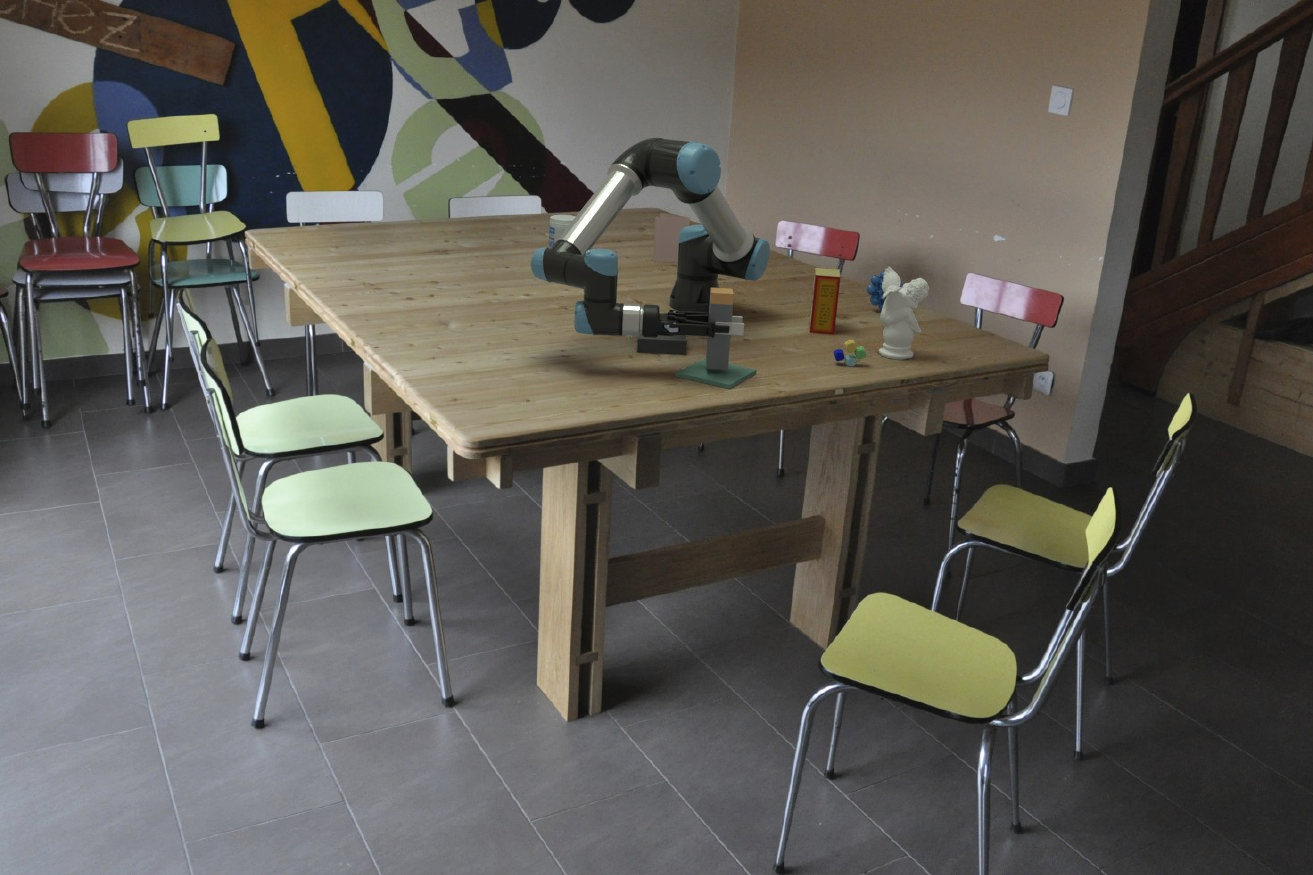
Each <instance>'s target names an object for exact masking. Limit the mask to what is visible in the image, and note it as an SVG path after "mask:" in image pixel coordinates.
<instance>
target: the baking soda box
mask: <svg viewBox="0 0 1313 875" xmlns="http://www.w3.org/2000/svg"><path fill="white" fill-rule="evenodd" d="M840 271H841V270H840V268H839V269H838V268H825V267H815V268H814V276H813V284H812V285H813V286H812V296H811V305H810V313H809V314H810V315H809V322H808V323H809V325H808V326H809V333H811V334H823V335H835V331H836V330H835V328H836V321H837V311H838V302H839V296H840V286H841V285H840V284H841V272H840Z"/></svg>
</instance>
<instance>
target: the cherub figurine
mask: <svg viewBox="0 0 1313 875" xmlns="http://www.w3.org/2000/svg"><path fill="white" fill-rule="evenodd" d="M884 271H885V272H884V276H883V277H884V279H883V281H884V282H882V290H883V292H884V295H883V297H882V299H884V298H885V297H887V298H886V299H885V301H884V305H883V308H882V311H880V316H879V321H880V322H881V323H882V324H883V325H884V328H883V332H882V338H883V341H884V342H882V346H883V347H880V348H879V349H878V353H879V355H880V356H882V357H884V358H886V359H891V360H908V359H912V358H913V357H914V352H913V350H911V349H912V345H911V344H912V343H914V342H913V341H914V339H915V333H918V334H920V333H921V334H922V329H921V328H920V326H919V322H918V321H917V318H916V315H915V313H914V311H913V309H914V310H915V309H917V308H918V306H919V303H922V301H923V300H924V299H925V298H927V296H928V295H929V290H930V286H929V284H928V282H927V281H926V280H925V279H924V278H923V277H918V278H916V279H911V281H910V282H906V283H903V284H904V285H903V286H902V287H900V283H901V284H902V282H901V277H900V276H899V274H898V273H897V272H896V271H895V270H893V268H892V267H890V265H888V266H887V268H884Z"/></svg>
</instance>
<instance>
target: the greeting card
mask: <svg viewBox="0 0 1313 875" xmlns="http://www.w3.org/2000/svg"><path fill="white" fill-rule="evenodd" d="M690 221H691V217H687V216H683V215H682V216H681V215H677V214H676V215H674V214H670V213H669V214H668V213H663V212H662V213H661V212H660V213H659V215H658V216H657V215H656V216H655V218H654V237H653V240H654V241H653V259H652V260H653V261H652V262H655V263H678V246H679V244H678V242H679V235H680V231H681V229H682V228H684V227H686V226H691V225H690V224H691V222H690Z"/></svg>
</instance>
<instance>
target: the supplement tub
mask: <svg viewBox="0 0 1313 875" xmlns="http://www.w3.org/2000/svg"><path fill="white" fill-rule="evenodd" d="M576 216H577V215H571V214H555V215H553V214H552V215H551V216H550V217H549V223H548V224H549V229H548V231H549V232H548V248H552V246H553V245H554V244H555V243H556V241H557V240H558V239H559V237H560V236H561V235H562V234H563V232H564V231H565V230H566V229H567V227H568V226H569V225H570V223H571V222H572V221H573V220H574V218H575V217H576Z"/></svg>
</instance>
